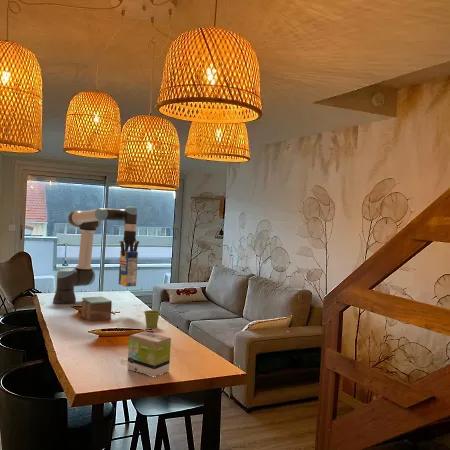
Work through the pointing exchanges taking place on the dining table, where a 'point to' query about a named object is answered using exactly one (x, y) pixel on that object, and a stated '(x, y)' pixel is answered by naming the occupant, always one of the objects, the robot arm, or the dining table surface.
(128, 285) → the beverage box
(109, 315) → the storage box
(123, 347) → the dining table surface
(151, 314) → the plant pot
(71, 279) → the robot arm
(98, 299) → the box lid
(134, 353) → the tea box
